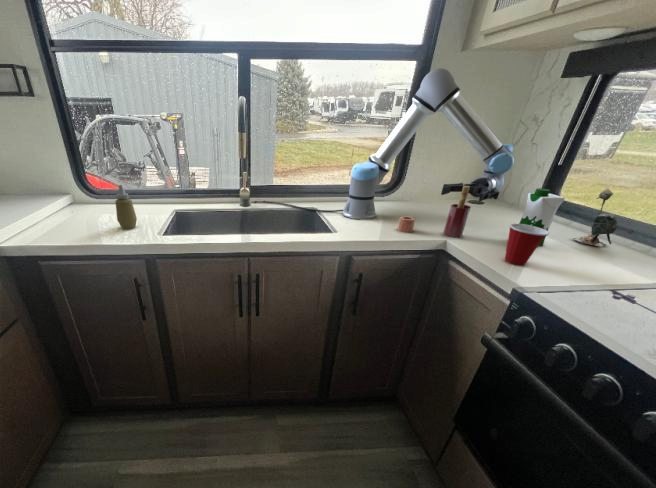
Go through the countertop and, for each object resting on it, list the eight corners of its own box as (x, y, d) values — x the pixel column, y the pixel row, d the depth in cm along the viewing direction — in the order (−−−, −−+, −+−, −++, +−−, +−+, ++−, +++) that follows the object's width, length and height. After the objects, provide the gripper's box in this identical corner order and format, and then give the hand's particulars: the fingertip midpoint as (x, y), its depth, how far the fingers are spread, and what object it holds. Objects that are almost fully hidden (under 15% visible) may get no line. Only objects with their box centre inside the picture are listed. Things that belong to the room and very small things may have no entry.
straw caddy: (396, 232, 141) (399, 219, 139) (397, 228, 146) (400, 215, 143) (412, 234, 139) (415, 220, 136) (412, 229, 144) (415, 217, 141)
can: (443, 237, 136) (451, 207, 130) (442, 232, 141) (450, 203, 135) (462, 239, 133) (471, 209, 127) (460, 234, 139) (469, 205, 133)
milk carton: (508, 239, 133) (527, 187, 123) (531, 239, 133) (552, 187, 123) (522, 246, 126) (545, 192, 116) (547, 246, 125) (571, 192, 116)
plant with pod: (592, 249, 123) (621, 193, 113) (568, 239, 133) (593, 186, 123) (615, 249, 123) (646, 193, 113) (590, 239, 133) (617, 187, 123)
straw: (449, 235, 136) (463, 186, 127) (449, 233, 138) (462, 185, 129) (455, 236, 136) (470, 187, 126) (455, 234, 137) (469, 186, 128)
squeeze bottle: (115, 228, 147) (105, 186, 138) (129, 223, 153) (121, 182, 144) (128, 231, 143) (119, 187, 135) (142, 226, 150) (134, 184, 141)
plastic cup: (542, 269, 108) (558, 233, 102) (504, 267, 109) (518, 231, 104) (525, 257, 117) (539, 223, 111) (491, 255, 119) (503, 221, 113)
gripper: (513, 201, 133) (494, 210, 121) (448, 191, 149) (426, 198, 137) (520, 181, 129) (502, 189, 117) (453, 173, 145) (430, 179, 133)
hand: (461, 194), depth 127 cm, fingers open, 13 cm apart
